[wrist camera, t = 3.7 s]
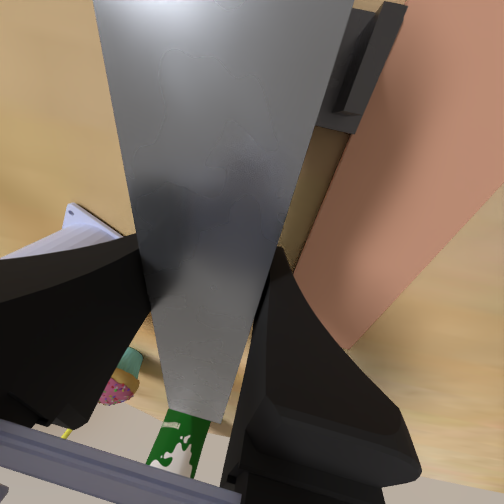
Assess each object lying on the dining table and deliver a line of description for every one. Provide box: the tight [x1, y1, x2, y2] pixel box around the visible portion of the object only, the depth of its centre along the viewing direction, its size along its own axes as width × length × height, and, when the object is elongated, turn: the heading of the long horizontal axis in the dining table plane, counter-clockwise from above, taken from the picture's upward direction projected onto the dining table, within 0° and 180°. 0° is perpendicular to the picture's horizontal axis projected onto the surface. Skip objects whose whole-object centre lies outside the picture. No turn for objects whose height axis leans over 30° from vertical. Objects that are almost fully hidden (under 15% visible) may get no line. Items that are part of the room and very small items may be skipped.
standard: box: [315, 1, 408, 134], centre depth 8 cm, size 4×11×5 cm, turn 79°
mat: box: [293, 0, 504, 349], centre depth 14 cm, size 27×9×1 cm, turn 169°
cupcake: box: [61, 347, 143, 439], centre depth 29 cm, size 9×8×12 cm
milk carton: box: [146, 409, 211, 479], centre depth 35 cm, size 9×9×20 cm
